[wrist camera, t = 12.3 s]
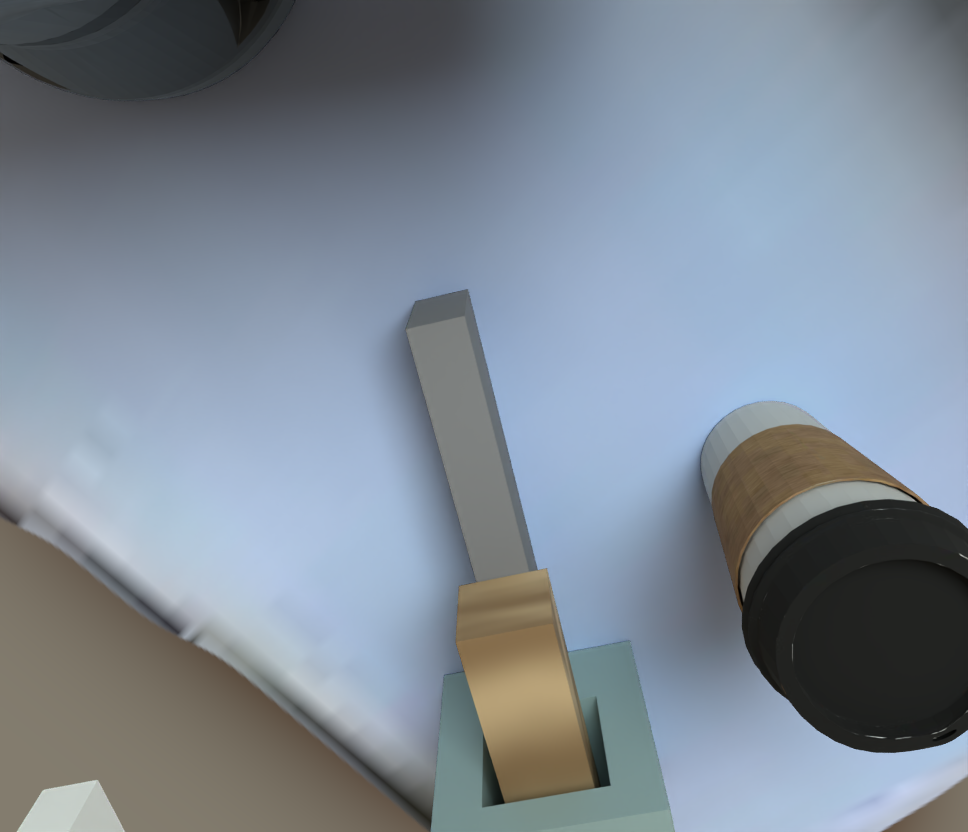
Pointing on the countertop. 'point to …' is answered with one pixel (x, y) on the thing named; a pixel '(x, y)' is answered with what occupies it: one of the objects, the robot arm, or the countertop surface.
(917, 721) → the coffee cup
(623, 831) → the bore block
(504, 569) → the rail
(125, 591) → the countertop surface
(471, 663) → the oak peg
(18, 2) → the robot arm
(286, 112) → the countertop surface
